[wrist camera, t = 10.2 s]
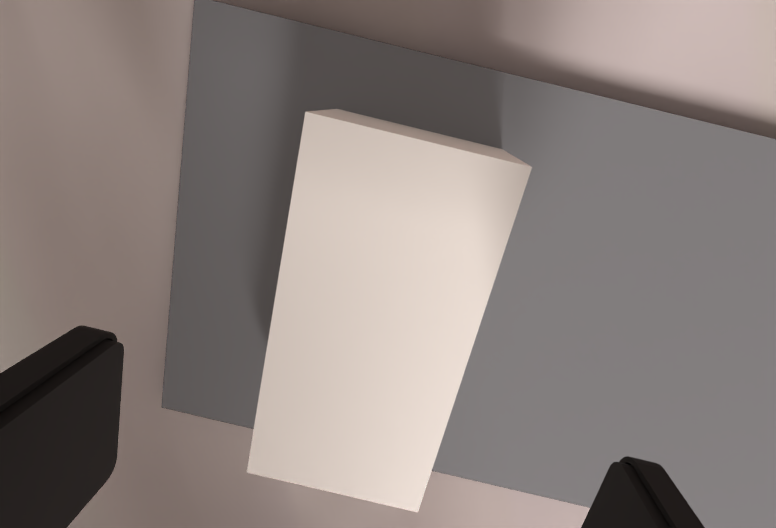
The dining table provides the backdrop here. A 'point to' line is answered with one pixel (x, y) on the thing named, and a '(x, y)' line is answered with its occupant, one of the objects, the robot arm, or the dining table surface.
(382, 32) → the dining table surface
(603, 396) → the mat
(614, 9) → the dining table surface
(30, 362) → the robot arm
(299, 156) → the white rectangular block
